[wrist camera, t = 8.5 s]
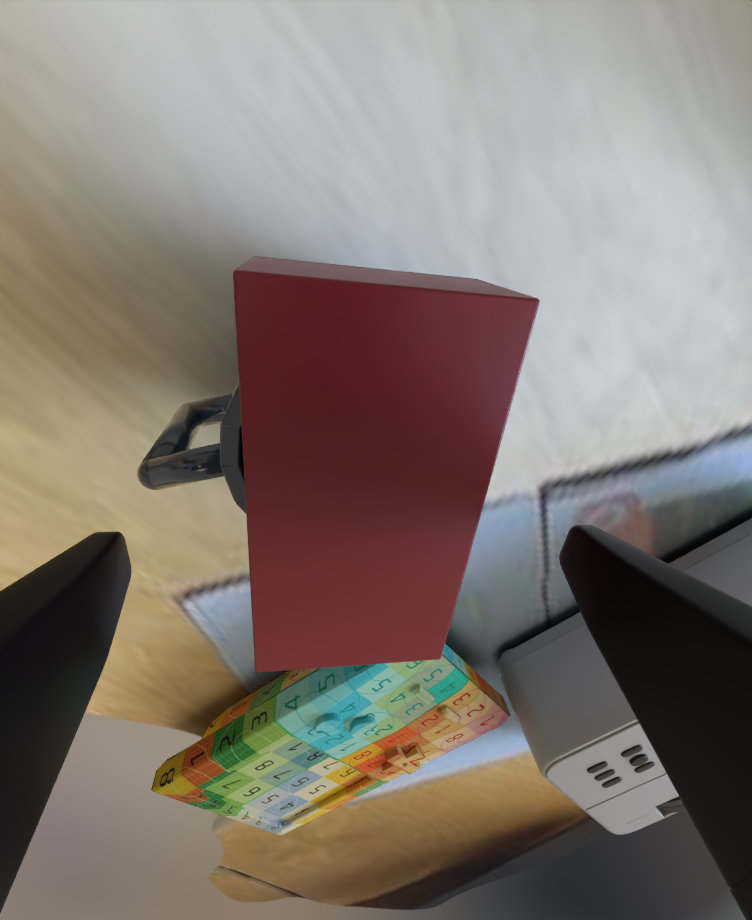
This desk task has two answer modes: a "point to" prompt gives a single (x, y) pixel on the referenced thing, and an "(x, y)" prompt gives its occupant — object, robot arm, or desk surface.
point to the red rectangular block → (367, 451)
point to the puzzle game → (329, 738)
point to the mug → (184, 465)
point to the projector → (606, 705)
